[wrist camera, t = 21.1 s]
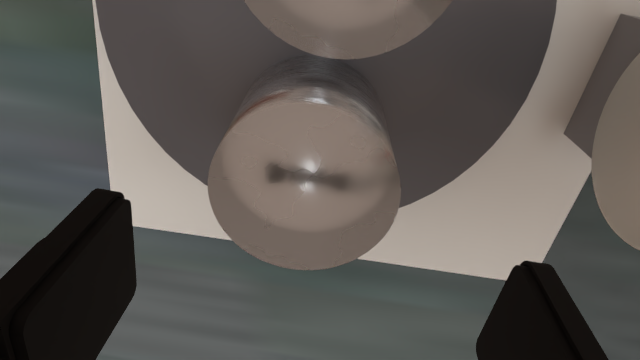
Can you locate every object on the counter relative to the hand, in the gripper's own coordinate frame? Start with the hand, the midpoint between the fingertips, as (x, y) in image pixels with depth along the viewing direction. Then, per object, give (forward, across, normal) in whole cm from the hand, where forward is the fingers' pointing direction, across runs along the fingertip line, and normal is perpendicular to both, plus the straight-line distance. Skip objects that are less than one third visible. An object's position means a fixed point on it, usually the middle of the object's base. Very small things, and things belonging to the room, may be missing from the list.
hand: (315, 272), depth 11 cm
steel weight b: (+9, +1, 0) cm, 9 cm away
